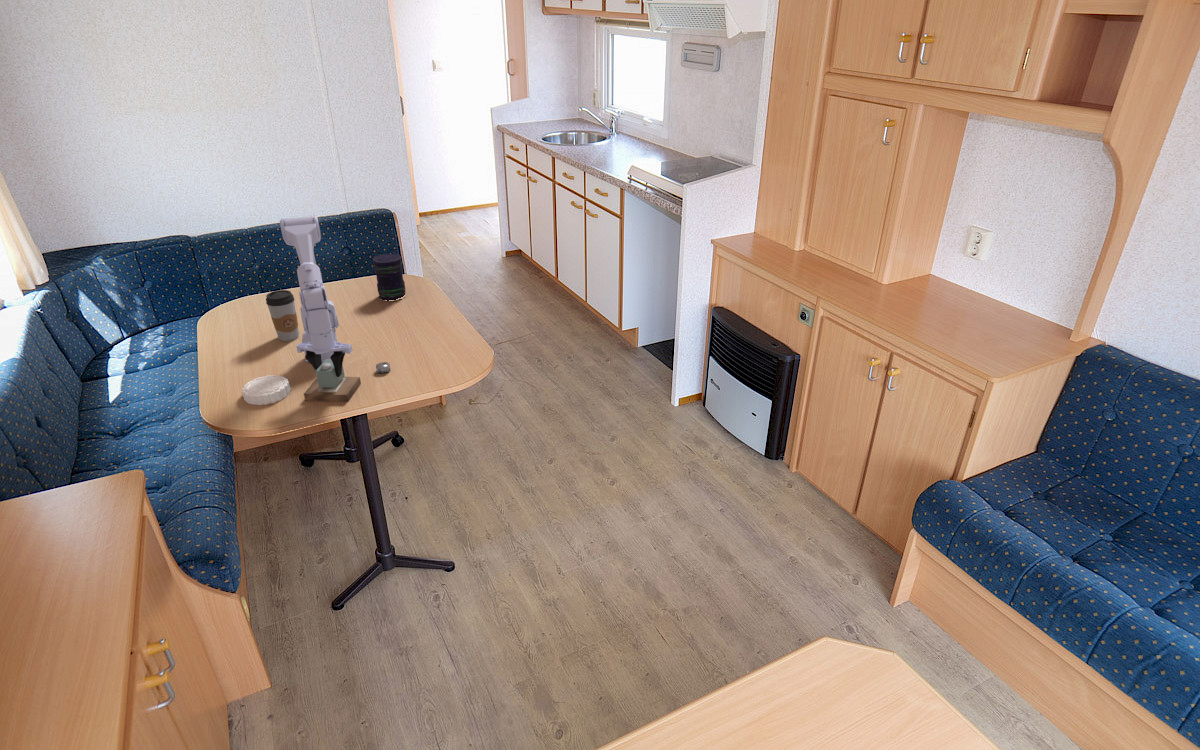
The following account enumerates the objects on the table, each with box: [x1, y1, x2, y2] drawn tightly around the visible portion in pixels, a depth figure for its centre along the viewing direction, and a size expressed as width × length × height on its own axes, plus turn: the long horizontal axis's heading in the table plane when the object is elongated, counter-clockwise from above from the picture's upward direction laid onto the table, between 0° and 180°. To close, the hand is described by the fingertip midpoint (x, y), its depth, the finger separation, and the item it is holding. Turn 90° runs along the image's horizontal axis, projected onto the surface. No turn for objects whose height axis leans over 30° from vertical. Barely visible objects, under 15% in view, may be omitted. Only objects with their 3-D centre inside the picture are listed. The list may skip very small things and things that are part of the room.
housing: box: [315, 359, 346, 387], centre depth 190 cm, size 7×4×6 cm, turn 178°
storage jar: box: [372, 253, 406, 302], centre depth 250 cm, size 10×10×15 cm
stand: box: [303, 376, 362, 402], centre depth 192 cm, size 12×10×2 cm
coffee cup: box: [265, 289, 300, 342], centre depth 220 cm, size 8×8×15 cm
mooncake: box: [241, 374, 292, 406], centre depth 191 cm, size 12×12×4 cm
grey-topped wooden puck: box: [375, 361, 392, 375], centre depth 203 cm, size 4×4×2 cm
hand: (330, 375), depth 190 cm, fingers closed on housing, 4 cm apart
